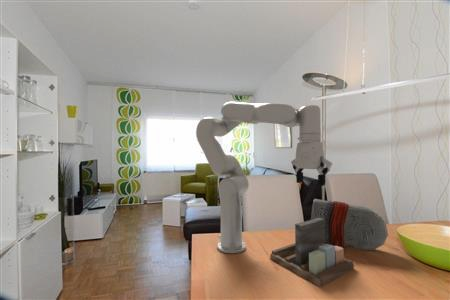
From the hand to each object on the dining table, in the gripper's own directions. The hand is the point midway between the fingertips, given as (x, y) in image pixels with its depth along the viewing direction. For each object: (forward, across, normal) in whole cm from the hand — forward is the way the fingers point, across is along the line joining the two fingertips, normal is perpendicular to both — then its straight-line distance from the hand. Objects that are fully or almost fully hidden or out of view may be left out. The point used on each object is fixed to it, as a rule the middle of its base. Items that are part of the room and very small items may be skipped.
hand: (310, 184), depth 86 cm
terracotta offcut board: (+30, +7, +6) cm, 32 cm away
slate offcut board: (+30, +7, 0) cm, 31 cm away
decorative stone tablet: (+30, -2, +27) cm, 41 cm away
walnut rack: (+30, 0, 0) cm, 30 cm away
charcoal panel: (+30, 0, 0) cm, 30 cm away
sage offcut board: (+30, +7, -5) cm, 31 cm away
